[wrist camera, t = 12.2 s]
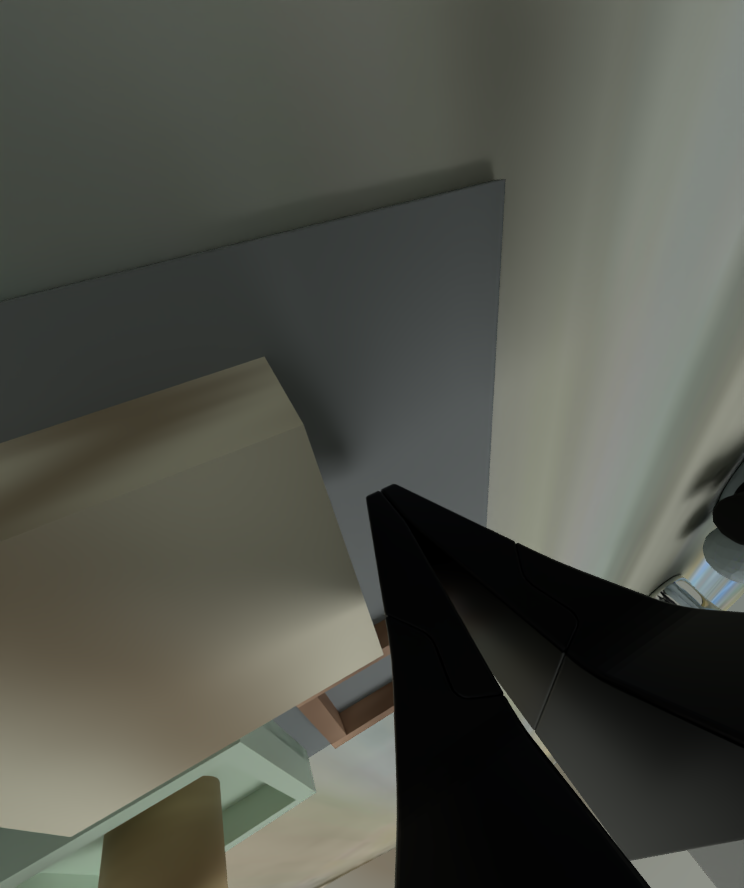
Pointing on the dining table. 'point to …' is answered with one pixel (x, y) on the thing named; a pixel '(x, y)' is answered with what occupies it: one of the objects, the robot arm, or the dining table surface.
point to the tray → (242, 797)
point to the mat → (302, 357)
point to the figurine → (728, 531)
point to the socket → (358, 715)
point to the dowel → (170, 843)
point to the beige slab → (162, 593)
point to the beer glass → (682, 594)
